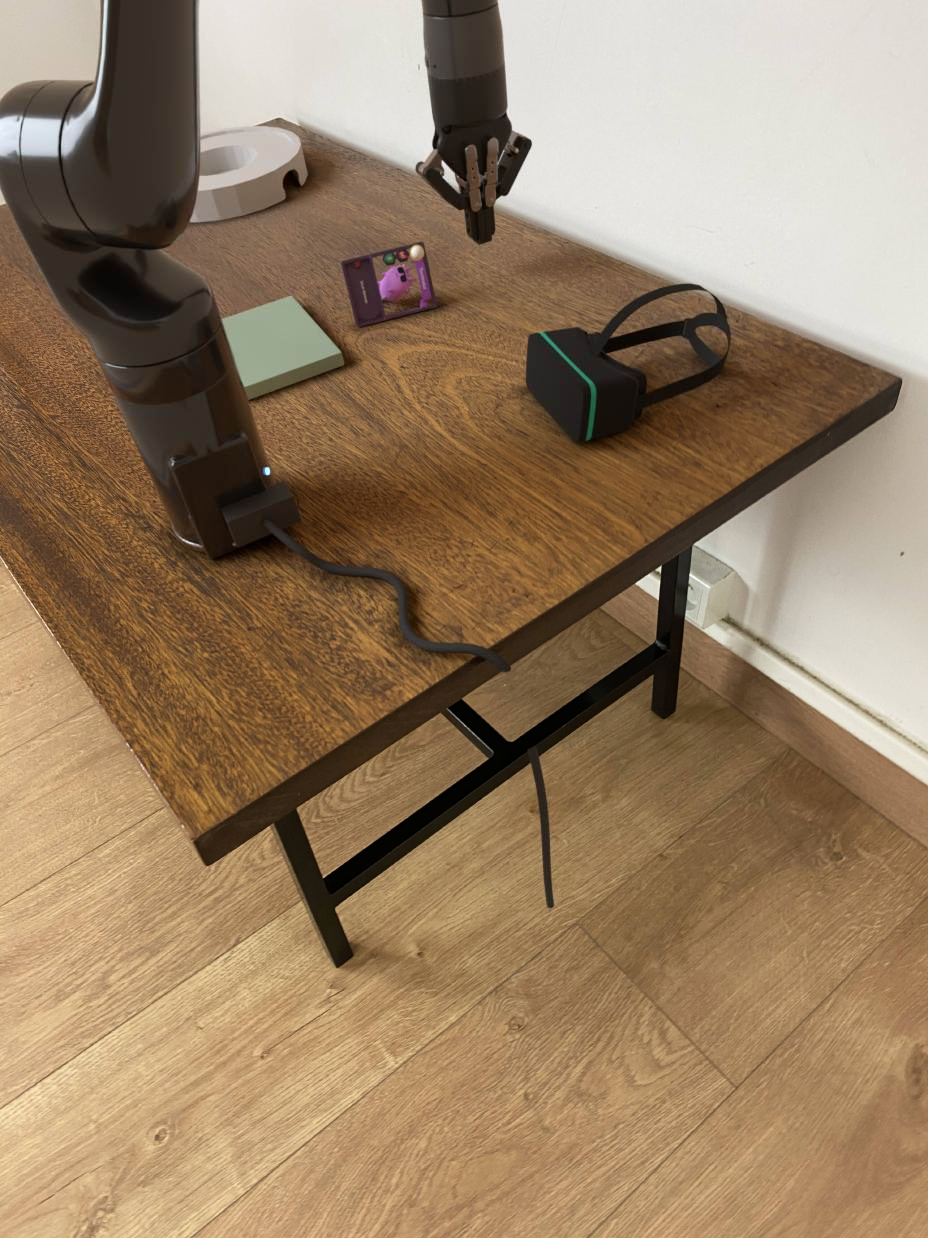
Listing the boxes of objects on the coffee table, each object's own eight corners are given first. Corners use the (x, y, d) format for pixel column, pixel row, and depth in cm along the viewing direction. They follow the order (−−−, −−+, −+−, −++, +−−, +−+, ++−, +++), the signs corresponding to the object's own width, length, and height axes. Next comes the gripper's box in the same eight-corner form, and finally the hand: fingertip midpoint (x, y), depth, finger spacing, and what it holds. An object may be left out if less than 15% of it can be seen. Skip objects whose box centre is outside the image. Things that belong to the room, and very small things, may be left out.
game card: (341, 261, 93) (425, 241, 94) (335, 258, 98) (415, 239, 99) (358, 327, 96) (438, 307, 97) (351, 322, 101) (428, 302, 102)
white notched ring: (288, 142, 138) (281, 113, 135) (325, 194, 123) (318, 163, 120) (138, 179, 134) (128, 150, 132) (157, 237, 119) (146, 206, 116)
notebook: (344, 364, 92) (341, 351, 91) (243, 402, 89) (238, 389, 88) (294, 307, 102) (291, 294, 100) (201, 339, 99) (197, 326, 98)
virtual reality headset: (524, 386, 85) (530, 282, 78) (679, 354, 89) (698, 253, 82) (578, 447, 78) (590, 339, 71) (744, 410, 82) (771, 304, 75)
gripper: (420, 88, 82) (443, 271, 95) (545, 52, 85) (551, 234, 98) (386, 70, 87) (413, 246, 100) (506, 37, 90) (517, 212, 103)
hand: (482, 240), depth 99 cm, fingers closed
